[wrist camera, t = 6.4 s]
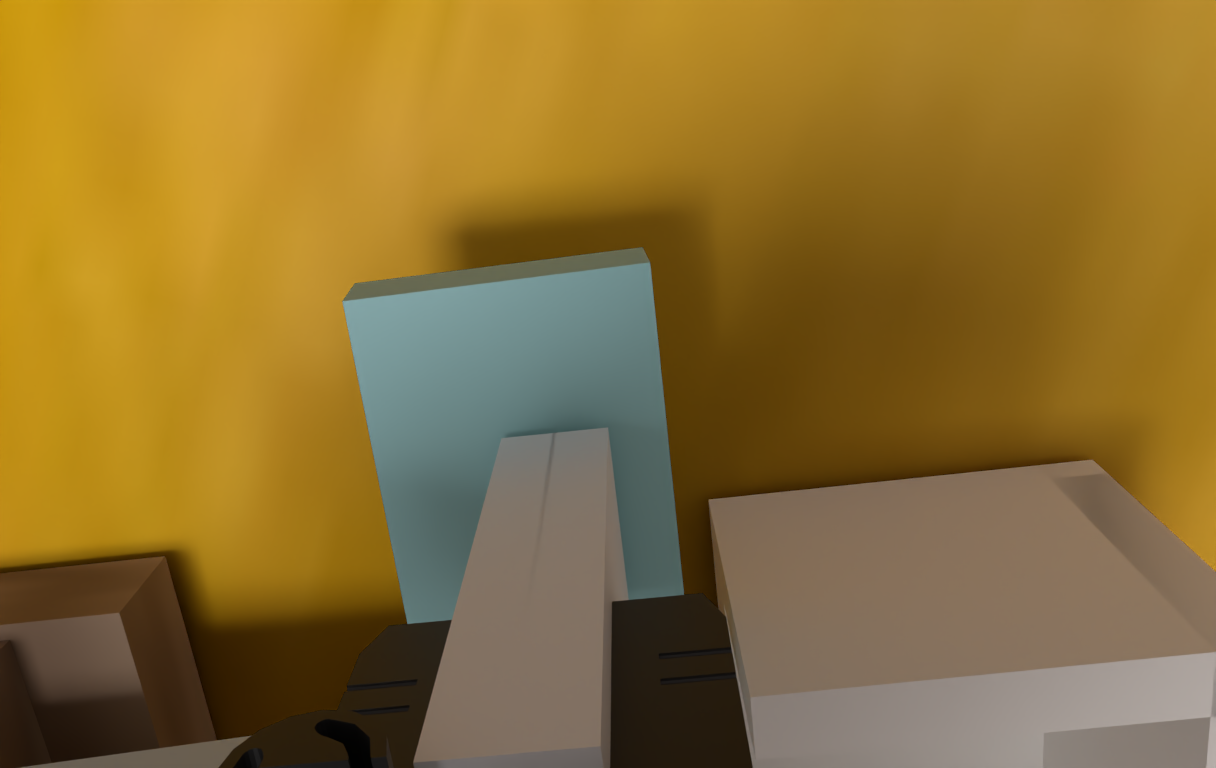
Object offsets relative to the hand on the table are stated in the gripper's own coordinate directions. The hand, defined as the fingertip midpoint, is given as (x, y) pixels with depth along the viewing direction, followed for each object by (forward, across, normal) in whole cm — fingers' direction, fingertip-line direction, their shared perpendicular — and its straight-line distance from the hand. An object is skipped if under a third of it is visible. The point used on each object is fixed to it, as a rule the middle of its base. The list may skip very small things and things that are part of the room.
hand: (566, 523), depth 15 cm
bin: (+5, +6, -7) cm, 10 cm away
